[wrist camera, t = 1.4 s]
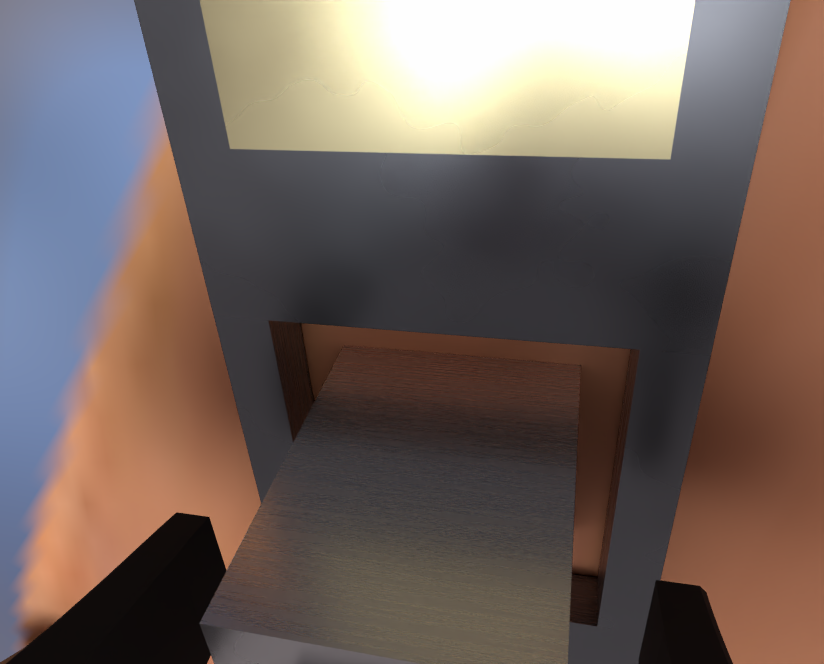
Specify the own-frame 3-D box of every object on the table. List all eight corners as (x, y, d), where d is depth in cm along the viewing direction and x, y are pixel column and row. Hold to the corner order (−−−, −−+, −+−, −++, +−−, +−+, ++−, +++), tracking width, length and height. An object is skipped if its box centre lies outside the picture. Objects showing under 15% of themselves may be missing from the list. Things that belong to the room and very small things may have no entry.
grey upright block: (580, 364, 12) (565, 727, 7) (564, 530, 15) (543, 888, 10) (344, 344, 13) (183, 653, 8) (365, 503, 16) (252, 818, 11)
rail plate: (961, -949, 5) (1053, -1150, 4) (624, 685, 17) (625, 739, 16) (28, -698, 7) (-73, -792, 6) (319, 632, 19) (302, 677, 18)
